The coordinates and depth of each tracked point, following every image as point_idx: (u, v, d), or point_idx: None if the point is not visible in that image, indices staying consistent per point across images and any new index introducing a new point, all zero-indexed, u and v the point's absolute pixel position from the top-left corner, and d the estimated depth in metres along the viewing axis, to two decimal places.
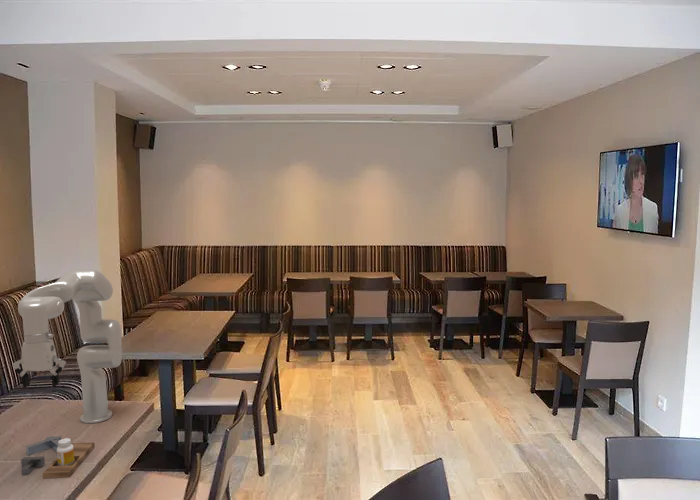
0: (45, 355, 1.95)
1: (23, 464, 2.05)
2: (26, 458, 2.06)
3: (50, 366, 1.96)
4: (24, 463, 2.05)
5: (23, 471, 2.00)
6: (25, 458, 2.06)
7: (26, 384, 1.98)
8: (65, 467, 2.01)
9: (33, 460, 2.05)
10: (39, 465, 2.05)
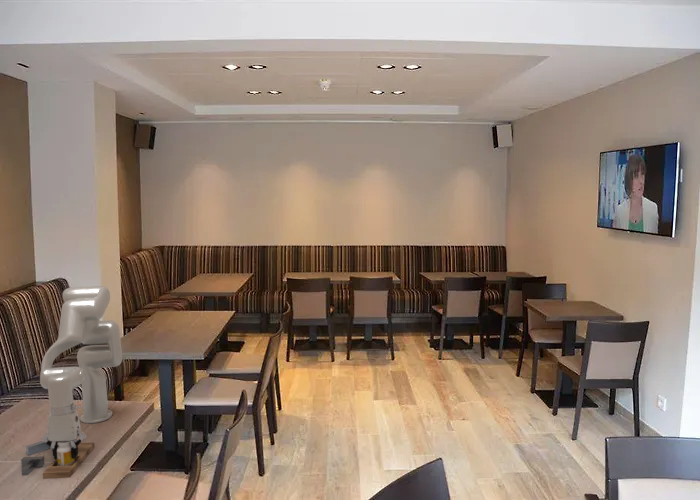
0: (70, 426, 2.02)
1: (23, 464, 2.05)
2: (26, 458, 2.06)
3: (75, 436, 2.03)
4: (24, 463, 2.05)
5: (23, 471, 2.00)
6: (25, 458, 2.06)
7: None
8: (65, 467, 2.01)
9: (33, 460, 2.05)
10: (39, 465, 2.05)
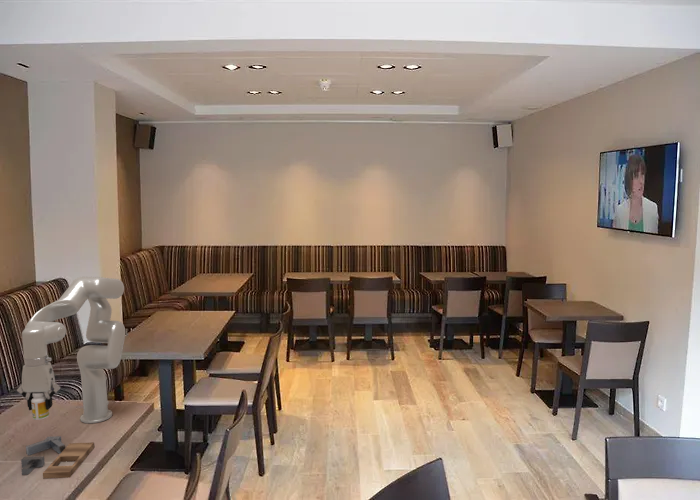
0: (44, 377, 2.09)
1: (23, 464, 2.05)
2: (26, 458, 2.06)
3: (49, 387, 2.10)
4: (24, 463, 2.05)
5: (23, 471, 2.00)
6: (25, 458, 2.06)
7: (31, 407, 2.11)
8: (65, 467, 2.01)
9: (33, 460, 2.05)
10: (39, 465, 2.05)
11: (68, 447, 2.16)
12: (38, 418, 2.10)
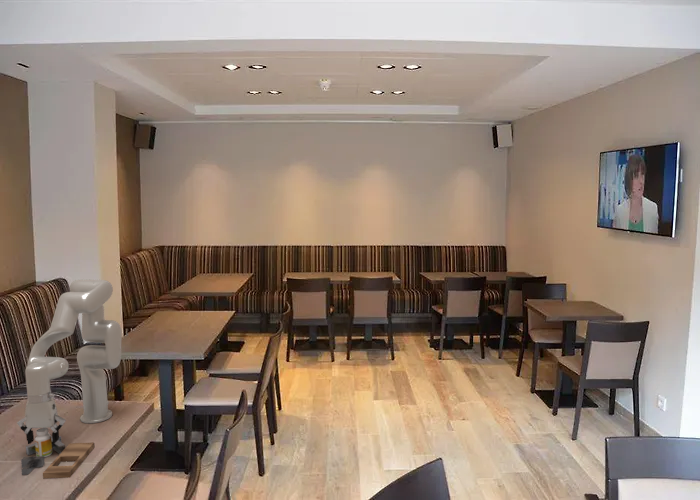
0: (47, 413, 2.10)
1: (23, 464, 2.05)
2: (26, 458, 2.06)
3: (52, 423, 2.11)
4: (24, 463, 2.05)
5: (23, 471, 2.00)
6: (25, 458, 2.06)
7: (30, 440, 2.13)
8: (65, 467, 2.01)
9: (33, 460, 2.05)
10: (39, 465, 2.05)
11: (68, 447, 2.16)
12: None
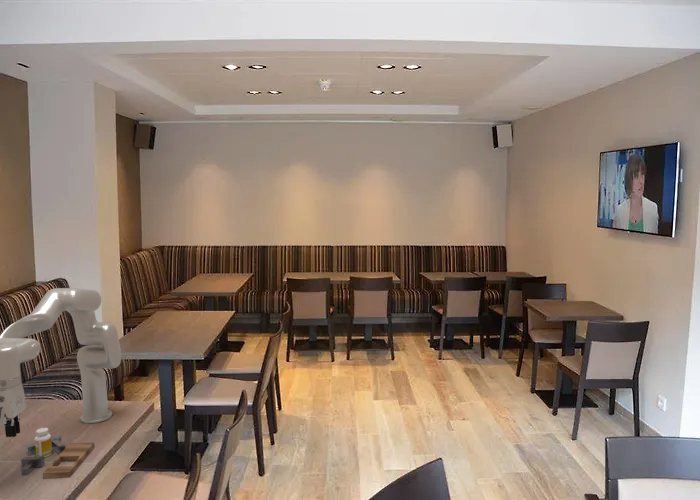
0: None
1: (23, 464, 2.05)
2: (26, 458, 2.06)
3: None
4: (24, 463, 2.05)
5: (23, 471, 2.00)
6: (25, 458, 2.06)
7: None
8: (65, 467, 2.01)
9: (33, 460, 2.05)
10: (39, 465, 2.05)
11: (68, 447, 2.16)
12: None
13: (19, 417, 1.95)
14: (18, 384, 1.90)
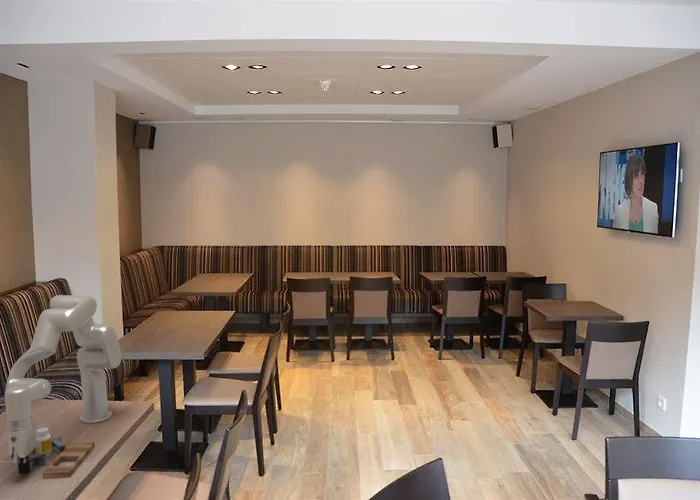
0: None
1: None
2: None
3: None
4: None
5: None
6: None
7: None
8: (65, 467, 2.01)
9: (35, 458, 2.07)
10: (41, 463, 2.07)
11: (68, 447, 2.16)
12: None
13: (29, 456, 2.01)
14: (30, 424, 1.97)
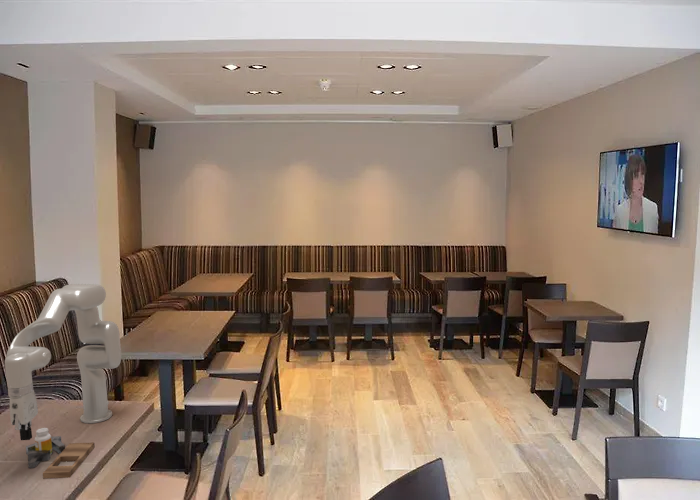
0: None
1: (29, 458, 2.10)
2: (32, 452, 2.10)
3: (11, 422, 1.96)
4: (30, 457, 2.10)
5: (30, 464, 2.05)
6: (31, 451, 2.11)
7: None
8: (65, 467, 2.01)
9: (39, 454, 2.10)
10: (45, 459, 2.10)
11: (68, 447, 2.16)
12: None
13: (31, 423, 2.03)
14: (30, 391, 1.98)
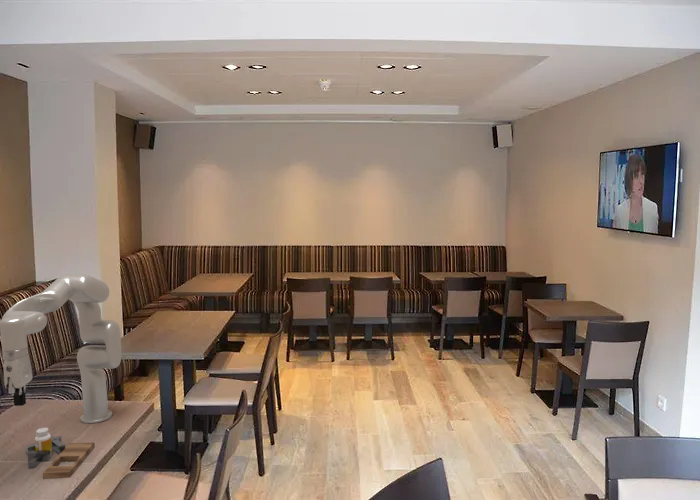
0: None
1: (29, 458, 2.10)
2: (32, 452, 2.10)
3: (5, 385, 1.92)
4: (30, 457, 2.10)
5: (30, 464, 2.05)
6: (31, 451, 2.11)
7: None
8: (65, 467, 2.01)
9: (39, 454, 2.10)
10: (45, 459, 2.10)
11: (68, 447, 2.16)
12: None
13: (25, 388, 1.99)
14: (25, 355, 1.95)
